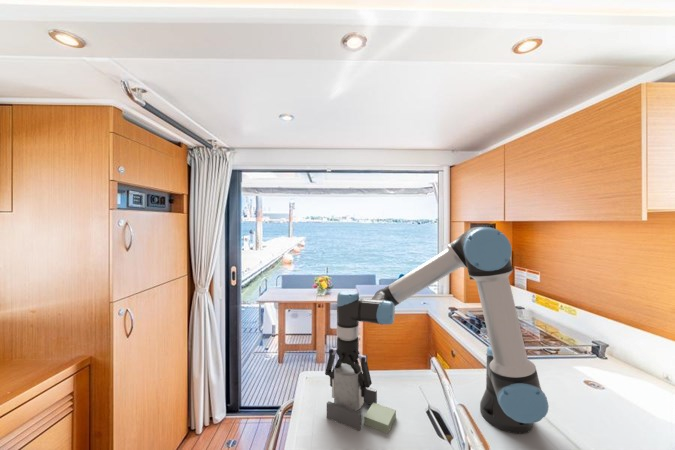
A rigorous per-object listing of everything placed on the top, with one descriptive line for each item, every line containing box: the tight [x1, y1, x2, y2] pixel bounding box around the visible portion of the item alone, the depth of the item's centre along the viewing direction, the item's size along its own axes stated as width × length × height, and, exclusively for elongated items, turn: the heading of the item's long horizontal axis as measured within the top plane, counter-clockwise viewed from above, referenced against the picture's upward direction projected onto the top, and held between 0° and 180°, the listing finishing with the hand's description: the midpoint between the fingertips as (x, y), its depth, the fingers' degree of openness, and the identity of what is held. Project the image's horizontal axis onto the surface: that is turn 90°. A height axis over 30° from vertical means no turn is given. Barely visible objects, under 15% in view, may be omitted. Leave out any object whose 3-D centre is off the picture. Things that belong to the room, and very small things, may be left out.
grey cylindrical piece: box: [333, 363, 362, 412], centre depth 98 cm, size 10×10×12 cm
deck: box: [363, 402, 397, 434], centre depth 93 cm, size 8×8×2 cm
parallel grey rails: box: [326, 387, 378, 432], centre depth 98 cm, size 12×15×5 cm
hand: (347, 400), depth 99 cm, fingers closed on grey cylindrical piece, 9 cm apart
